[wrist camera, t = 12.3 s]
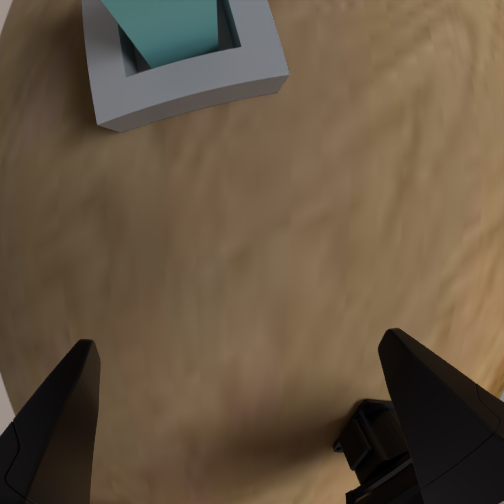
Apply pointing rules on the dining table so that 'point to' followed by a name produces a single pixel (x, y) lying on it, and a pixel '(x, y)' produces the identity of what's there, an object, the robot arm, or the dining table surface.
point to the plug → (168, 27)
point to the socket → (181, 67)
